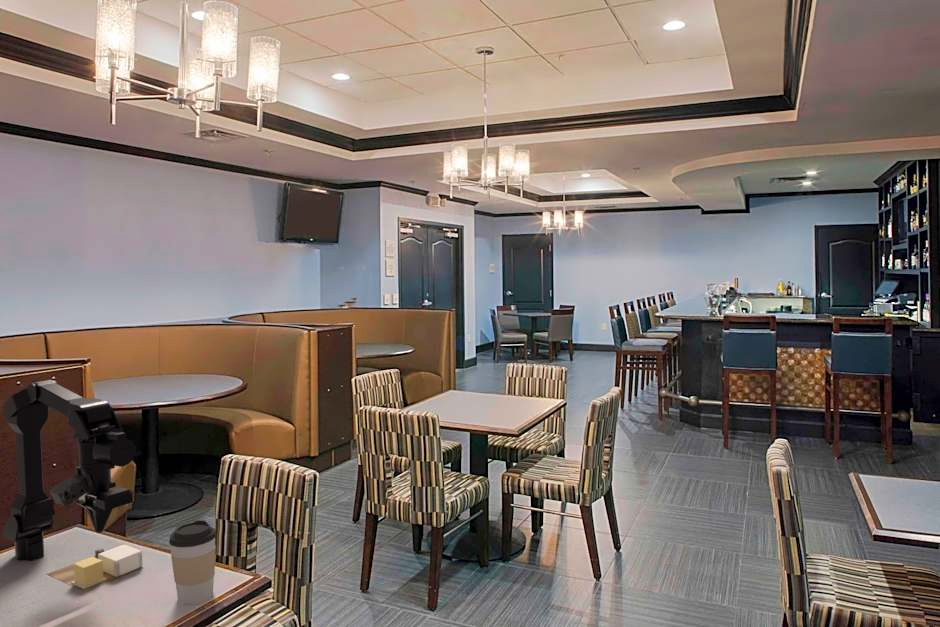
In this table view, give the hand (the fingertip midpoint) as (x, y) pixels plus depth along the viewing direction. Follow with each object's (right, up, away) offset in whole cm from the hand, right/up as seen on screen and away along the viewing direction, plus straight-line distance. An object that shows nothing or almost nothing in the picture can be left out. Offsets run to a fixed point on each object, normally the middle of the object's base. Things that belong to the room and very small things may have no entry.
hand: (99, 531), depth 143 cm
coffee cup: (+23, -12, -4) cm, 26 cm away
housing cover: (+1, -10, +7) cm, 12 cm away
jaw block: (-3, -11, +1) cm, 11 cm away
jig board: (-4, -12, +6) cm, 14 cm away
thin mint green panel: (-3, -12, +1) cm, 12 cm away
